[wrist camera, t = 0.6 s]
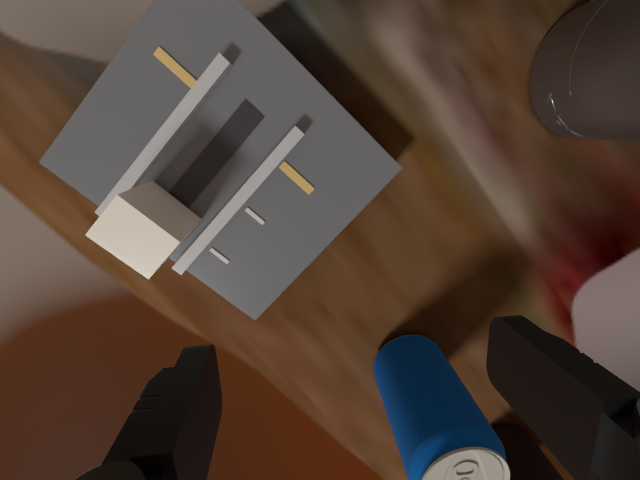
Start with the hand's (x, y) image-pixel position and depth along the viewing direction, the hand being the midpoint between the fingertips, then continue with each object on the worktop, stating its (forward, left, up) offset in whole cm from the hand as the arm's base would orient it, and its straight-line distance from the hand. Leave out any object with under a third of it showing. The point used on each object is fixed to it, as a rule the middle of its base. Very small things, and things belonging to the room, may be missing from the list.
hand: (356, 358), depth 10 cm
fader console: (+1, -7, -19) cm, 20 cm away
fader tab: (+7, -8, -16) cm, 19 cm away
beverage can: (+5, +16, -19) cm, 25 cm away
